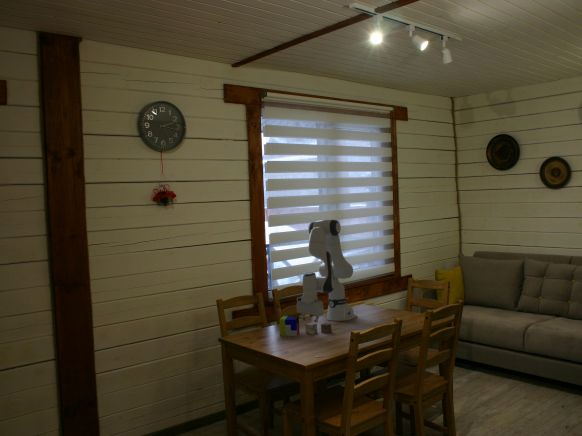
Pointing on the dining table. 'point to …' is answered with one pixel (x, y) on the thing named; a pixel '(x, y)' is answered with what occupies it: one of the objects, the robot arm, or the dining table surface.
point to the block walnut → (326, 327)
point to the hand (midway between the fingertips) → (310, 321)
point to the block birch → (311, 328)
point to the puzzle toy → (289, 326)
